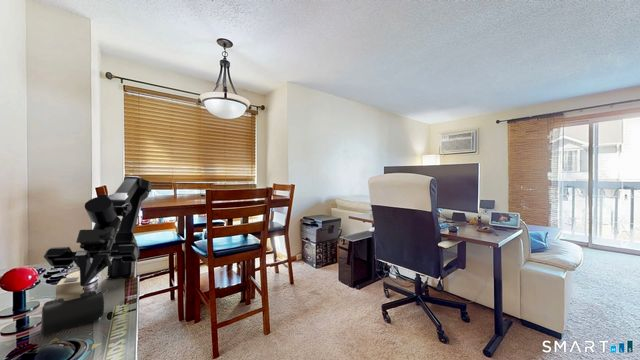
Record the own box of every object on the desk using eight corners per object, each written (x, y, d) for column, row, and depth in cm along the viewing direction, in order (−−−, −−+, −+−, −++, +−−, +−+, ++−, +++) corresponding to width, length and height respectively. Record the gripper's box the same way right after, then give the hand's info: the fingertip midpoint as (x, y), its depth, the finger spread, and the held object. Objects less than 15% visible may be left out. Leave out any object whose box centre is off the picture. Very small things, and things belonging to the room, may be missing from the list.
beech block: (83, 292, 74) (85, 275, 74) (80, 298, 70) (81, 281, 70) (60, 295, 71) (61, 278, 71) (55, 303, 67) (56, 284, 67)
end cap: (41, 343, 51) (43, 311, 51) (38, 329, 56) (41, 300, 56) (103, 323, 59) (105, 296, 59) (96, 312, 64) (98, 287, 64)
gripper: (50, 217, 63) (15, 275, 52) (137, 216, 70) (121, 267, 60) (66, 239, 70) (37, 295, 60) (143, 237, 77) (130, 286, 67)
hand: (82, 285), depth 61 cm, fingers closed
